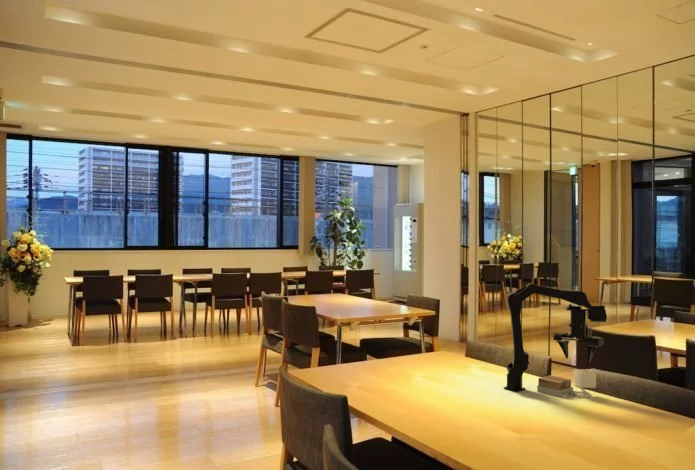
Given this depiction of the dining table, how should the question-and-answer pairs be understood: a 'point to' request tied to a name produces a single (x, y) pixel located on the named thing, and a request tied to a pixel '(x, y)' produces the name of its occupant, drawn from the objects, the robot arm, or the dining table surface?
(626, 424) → the dining table surface
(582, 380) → the security camera
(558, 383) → the tower top
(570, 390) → the tower base
